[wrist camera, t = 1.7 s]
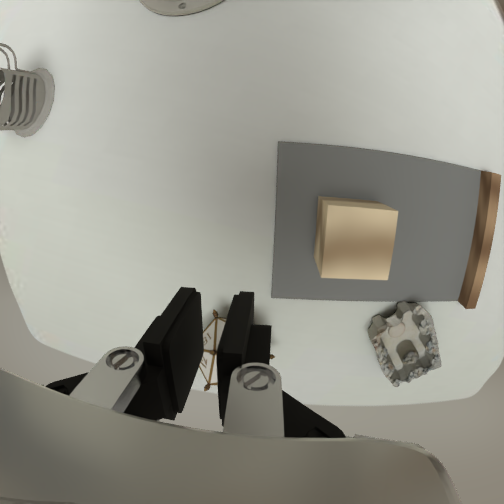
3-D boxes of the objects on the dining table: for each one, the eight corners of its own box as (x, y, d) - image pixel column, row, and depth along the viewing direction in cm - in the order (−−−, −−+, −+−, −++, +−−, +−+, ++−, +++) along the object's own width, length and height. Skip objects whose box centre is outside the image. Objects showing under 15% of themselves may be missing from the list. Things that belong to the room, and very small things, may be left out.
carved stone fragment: (360, 319, 32) (369, 340, 28) (417, 290, 30) (432, 307, 26) (384, 376, 34) (392, 397, 30) (433, 351, 33) (444, 370, 29)
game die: (253, 314, 37) (304, 362, 29) (210, 363, 36) (251, 418, 29) (207, 280, 31) (258, 335, 24) (158, 338, 31) (194, 404, 23)
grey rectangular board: (278, 141, 27) (278, 141, 27) (479, 170, 25) (480, 170, 25) (271, 296, 32) (271, 297, 32) (456, 299, 30) (457, 300, 30)
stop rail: (479, 170, 25) (491, 172, 23) (488, 172, 25) (501, 174, 23) (456, 299, 30) (466, 308, 28) (465, 299, 30) (475, 308, 28)
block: (317, 195, 28) (327, 205, 22) (376, 200, 28) (398, 211, 22) (313, 254, 30) (320, 277, 24) (369, 257, 29) (387, 280, 24)
